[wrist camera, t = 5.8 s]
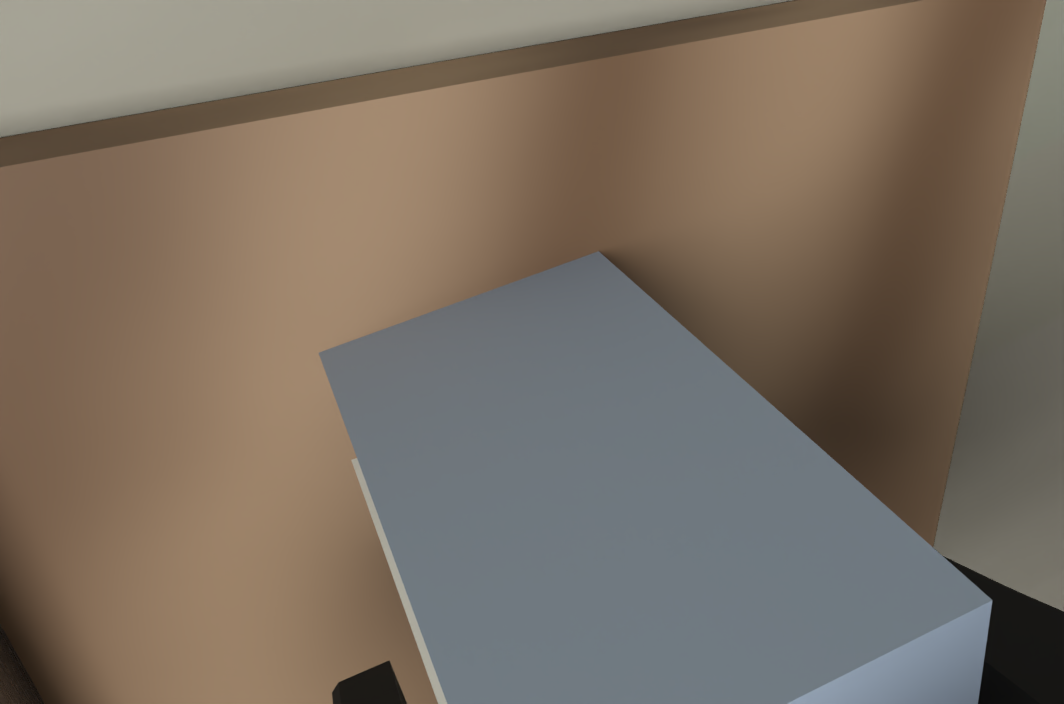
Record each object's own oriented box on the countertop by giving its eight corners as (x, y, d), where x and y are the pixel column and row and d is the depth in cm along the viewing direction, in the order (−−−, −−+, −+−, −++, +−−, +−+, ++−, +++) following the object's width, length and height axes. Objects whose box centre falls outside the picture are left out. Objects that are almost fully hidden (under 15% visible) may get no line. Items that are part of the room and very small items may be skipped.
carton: (598, 250, 12) (993, 600, 7) (648, 553, 16) (941, 958, 10) (312, 355, 12) (489, 852, 6) (428, 651, 15) (613, 1153, 9)
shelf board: (987, -33, 14) (1050, -23, 13) (888, 540, 20) (927, 575, 19) (-196, 172, 10) (-230, 208, 9) (144, 819, 16) (144, 884, 15)
